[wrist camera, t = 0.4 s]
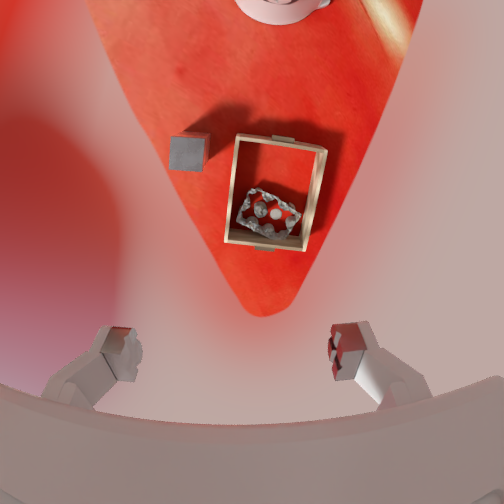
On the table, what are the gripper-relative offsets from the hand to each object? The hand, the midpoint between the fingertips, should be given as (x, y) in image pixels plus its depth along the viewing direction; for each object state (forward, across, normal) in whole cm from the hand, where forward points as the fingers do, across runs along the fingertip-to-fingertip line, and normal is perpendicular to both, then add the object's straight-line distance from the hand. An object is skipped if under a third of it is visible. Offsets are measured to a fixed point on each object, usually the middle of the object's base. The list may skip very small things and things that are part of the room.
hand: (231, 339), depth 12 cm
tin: (+44, +8, -1) cm, 45 cm away
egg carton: (+44, -4, +12) cm, 46 cm away
